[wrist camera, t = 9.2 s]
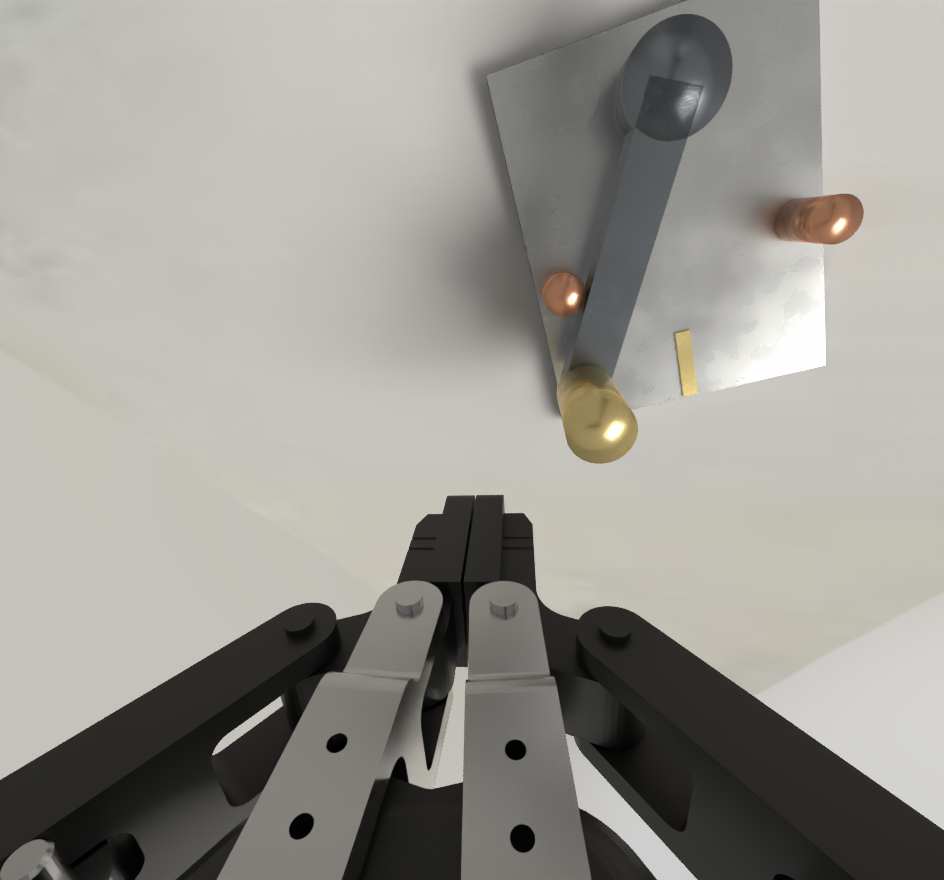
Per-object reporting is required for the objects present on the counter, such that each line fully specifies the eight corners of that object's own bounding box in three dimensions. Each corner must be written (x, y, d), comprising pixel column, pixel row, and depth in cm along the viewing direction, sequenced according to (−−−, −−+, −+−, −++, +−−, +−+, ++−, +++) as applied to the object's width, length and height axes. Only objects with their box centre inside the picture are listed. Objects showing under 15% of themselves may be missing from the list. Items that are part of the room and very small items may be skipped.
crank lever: (630, 23, 19) (686, -75, 13) (729, 43, 19) (831, -45, 13) (536, 397, 25) (542, 452, 19) (610, 412, 25) (640, 472, 19)
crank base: (487, 80, 22) (481, 50, 18) (806, -39, 19) (874, -100, 16) (565, 419, 28) (572, 448, 24) (816, 361, 25) (867, 383, 22)
